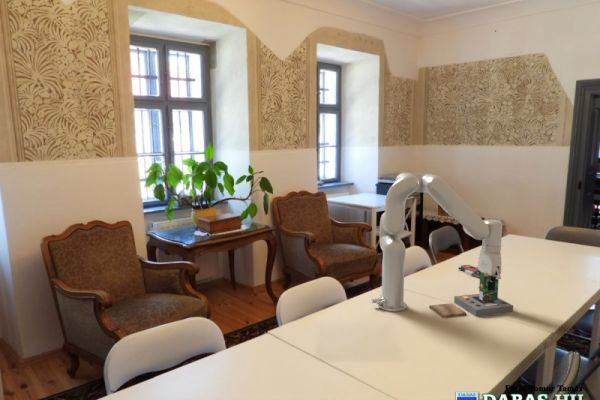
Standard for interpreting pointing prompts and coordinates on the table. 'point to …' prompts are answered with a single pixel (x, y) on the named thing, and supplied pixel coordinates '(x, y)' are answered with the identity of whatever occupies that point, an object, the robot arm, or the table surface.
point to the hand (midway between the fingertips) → (488, 288)
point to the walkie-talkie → (470, 270)
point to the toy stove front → (482, 305)
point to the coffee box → (483, 289)
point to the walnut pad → (447, 310)
